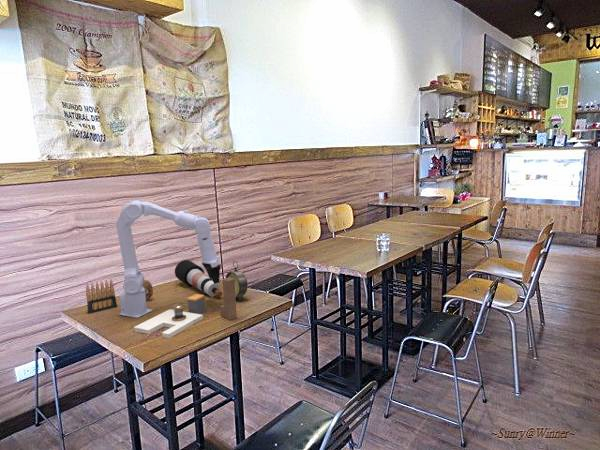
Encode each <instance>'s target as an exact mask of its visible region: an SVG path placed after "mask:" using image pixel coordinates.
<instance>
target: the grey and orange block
mask: <svg viewBox="0 0 600 450" xmlns="http://www.w3.org/2000/svg"><path fill="white" fill-rule="evenodd" d="M205 301H206V300H205V295H204V294H200V293H195V294H193V295H191V296H189V297H187V307H188V308H187V309H188V312H189V313H195V314H201V315H202V314H203V313H205V312H206V302H205Z"/></svg>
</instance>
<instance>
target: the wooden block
mask: <svg viewBox="0 0 600 450" xmlns="http://www.w3.org/2000/svg"><path fill="white" fill-rule="evenodd" d="M221 280H222V293H223V294H222V296H223V304H222V305H220V306H219V313H220V316H221V317H223V318H225V319H227V320H228V321H232V320H234V319H237V318H238V315H237V314H238V313H237V312H238V311H237V303H236V302H237V301H236V298H237V297H236V298H235V283H234V279H233V278H230V277H229V278H226V277H225V278H222V279H221Z"/></svg>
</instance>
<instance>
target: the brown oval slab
mask: <svg viewBox="0 0 600 450" xmlns="http://www.w3.org/2000/svg"><path fill="white" fill-rule="evenodd" d="M142 286H143V287H144V289H145V296H146V300H149V299H151V298H152V296H153V295H154V294H153V293H154V292H153V291H154V289H153V285H152V283H151V282H150V281H149V280H146V279H144V283H143V284H142Z"/></svg>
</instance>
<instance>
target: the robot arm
mask: <svg viewBox="0 0 600 450" xmlns="http://www.w3.org/2000/svg"><path fill="white" fill-rule="evenodd" d="M151 215H154V216H158V217H160V218H164V219H167V220H170V221H174V223H175V225H176V226H178V227H182V228H184V229H187V230H191V231H195V233H196V235H197V242H198V247H199V252H200V255H201V259H202V260H201V262H202V263H201V265H202V266H203V267H204V269H205V271H206V272H207V276H208V277H209V278H210V279H212V280H213V282H214V284H216V283H218V284H219V283H220V279H221V278H220V274H221V273H220V272H221V268H222V265H221V264H217V261H218V260H219V259H221V256H220V255H217V251H216V247H215V242H214V238H213V235H212V231H211V224H210V221H209V220H208V218H206V217H204V216H200V215H199V214H197V215H194V214H192V213H190V212H189V213H188V210H184V211H183V210H180V211H177V212H176V211H174V210H170V209H168V208H166V207H162V206H159V205H158V204H154V203H152V202H148V201H142V200H141V199H134V200H132V201H131V202H129V203H127V204H126V205H125V206H124V207H123V208H122V209H121V212H120V214H119V216H118V218H117V220H116V222H115V227H116V228H115V229H116V231H117V237H118V238H117V239H118V242H119V248H120V252H121V253H120V254H121V258H122V263H123V269H124V271H123V272H124V274H123V278H124V282H123V284H122V288H123V291H122V292H121V293H120V295H119V305H120V306H119V307H120V313H119V316H122V317H123V316H125V317H128V318H129V317H130V318H135V319H138V318H140V317H142V316H145V315H147V314H149V313H150V312H152V311H153V309H151V308H150V309H149V308H148V307H147V299H146V296H145V289H144V287H143V286H142V284H143V283H144V280H145V276H144V274H143V273H142V272H141V267H139V264H138V259H137V258H138V257H137V254H136V252H137V251H136V247H135V243H134V242H135V241H134V237H133V231H132V225H133V224H134V223H135V222H136V221H137V220H138V219H140V218H141V217H142V216H143V217H148V216H151Z"/></svg>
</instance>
